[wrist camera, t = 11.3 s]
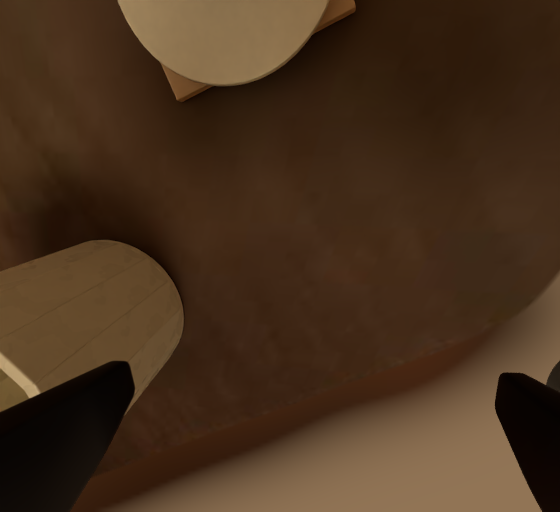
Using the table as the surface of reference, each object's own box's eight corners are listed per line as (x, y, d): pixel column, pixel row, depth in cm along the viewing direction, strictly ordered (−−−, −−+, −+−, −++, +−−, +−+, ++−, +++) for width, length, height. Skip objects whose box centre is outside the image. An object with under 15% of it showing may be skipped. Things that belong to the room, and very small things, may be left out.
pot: (205, 283, 21) (95, 397, 11) (157, 389, 24) (38, 553, 14) (69, 213, 21) (-169, 263, 11) (39, 329, 24) (-165, 452, 14)
